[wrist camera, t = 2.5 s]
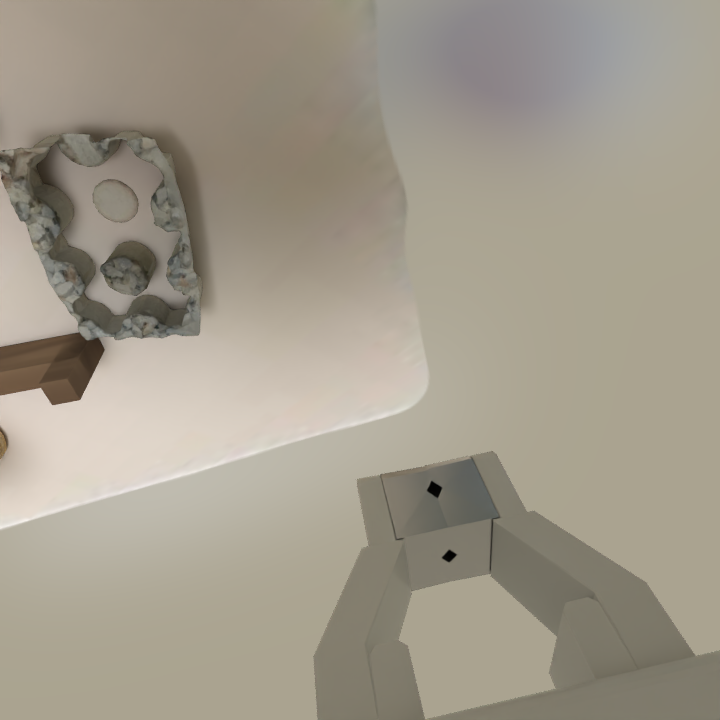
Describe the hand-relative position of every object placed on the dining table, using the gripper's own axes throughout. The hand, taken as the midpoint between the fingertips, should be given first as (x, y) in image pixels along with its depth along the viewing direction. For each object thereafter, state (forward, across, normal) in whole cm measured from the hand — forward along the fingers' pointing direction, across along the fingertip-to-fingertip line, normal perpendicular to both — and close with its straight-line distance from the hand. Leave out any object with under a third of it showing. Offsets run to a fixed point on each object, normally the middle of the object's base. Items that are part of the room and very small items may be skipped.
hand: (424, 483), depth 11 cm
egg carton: (+22, +11, 0) cm, 24 cm away
